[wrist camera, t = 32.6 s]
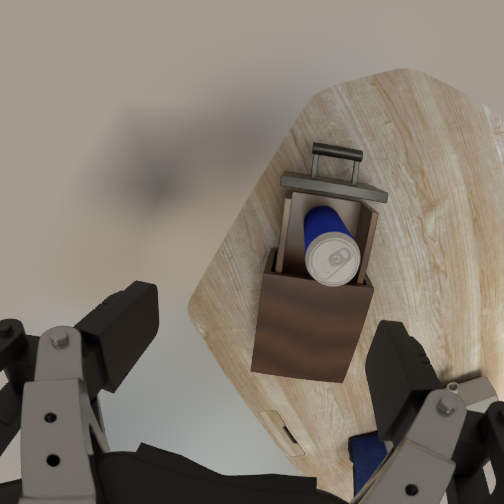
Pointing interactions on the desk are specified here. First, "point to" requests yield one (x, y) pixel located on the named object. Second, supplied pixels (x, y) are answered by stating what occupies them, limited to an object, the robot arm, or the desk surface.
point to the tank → (470, 396)
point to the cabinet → (307, 325)
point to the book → (365, 458)
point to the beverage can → (329, 247)
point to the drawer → (351, 212)
